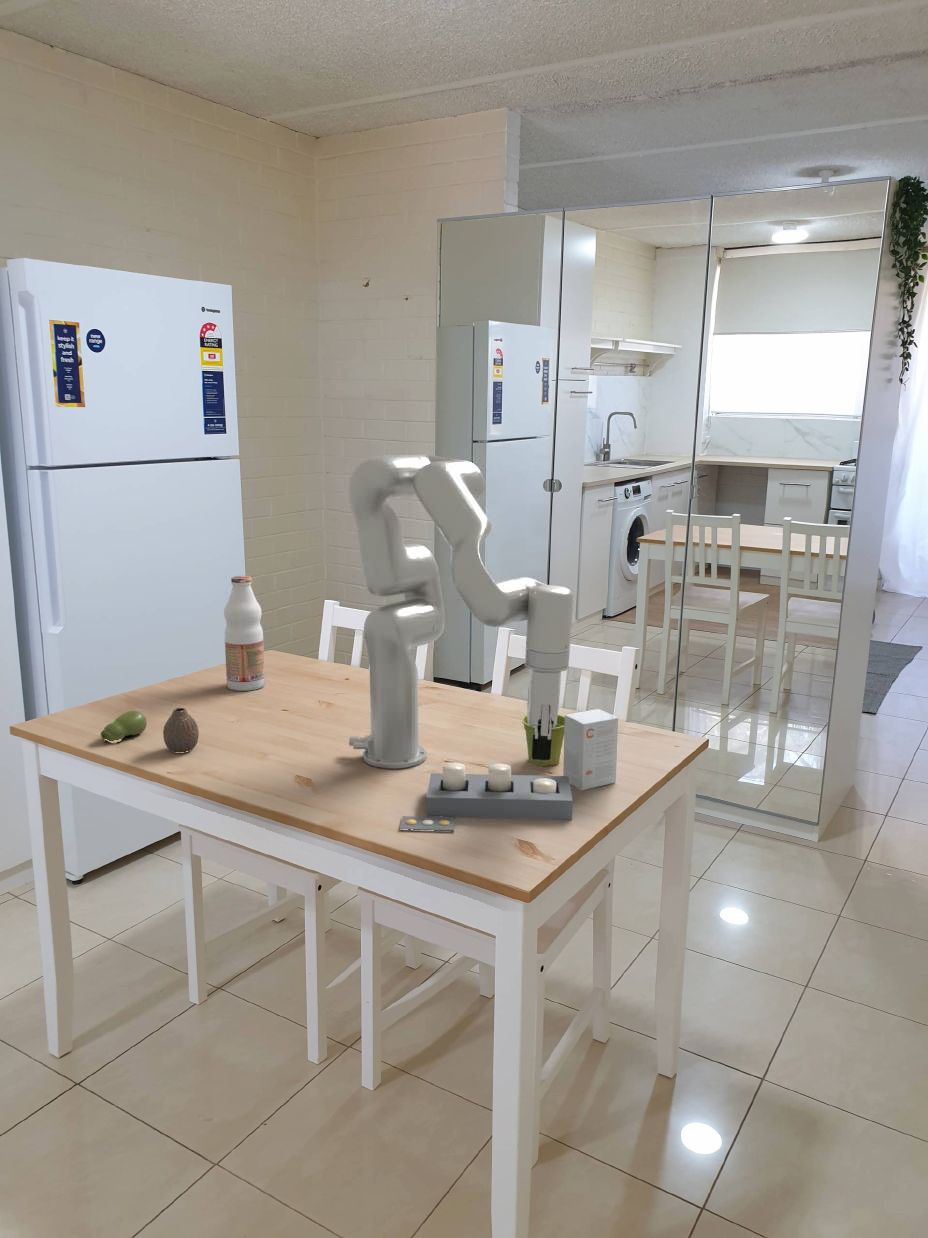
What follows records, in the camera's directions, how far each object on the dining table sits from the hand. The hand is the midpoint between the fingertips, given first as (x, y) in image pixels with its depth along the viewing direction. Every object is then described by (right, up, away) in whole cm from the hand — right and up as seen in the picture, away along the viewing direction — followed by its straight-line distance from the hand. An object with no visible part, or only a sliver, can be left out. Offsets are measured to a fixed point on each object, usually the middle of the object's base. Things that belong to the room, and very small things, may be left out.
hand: (540, 757), depth 165 cm
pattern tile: (-20, -10, -7) cm, 23 cm away
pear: (-86, -1, +35) cm, 92 cm away
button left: (-15, -5, +1) cm, 16 cm away
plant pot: (+3, -4, +23) cm, 23 cm away
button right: (+1, -8, +1) cm, 8 cm away
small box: (+10, -6, +13) cm, 18 cm away
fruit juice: (-69, +7, +72) cm, 100 cm away
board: (-7, -9, +2) cm, 11 cm away
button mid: (-7, -5, +1) cm, 9 cm away
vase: (-71, -3, +27) cm, 76 cm away
